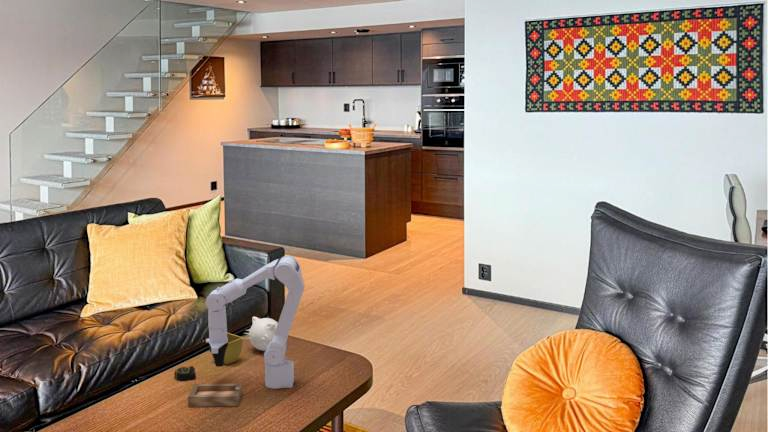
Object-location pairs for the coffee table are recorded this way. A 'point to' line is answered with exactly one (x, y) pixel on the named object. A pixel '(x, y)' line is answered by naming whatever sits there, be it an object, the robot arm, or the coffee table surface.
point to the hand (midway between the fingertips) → (219, 365)
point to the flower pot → (233, 348)
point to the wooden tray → (215, 395)
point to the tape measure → (185, 373)
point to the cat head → (261, 332)
